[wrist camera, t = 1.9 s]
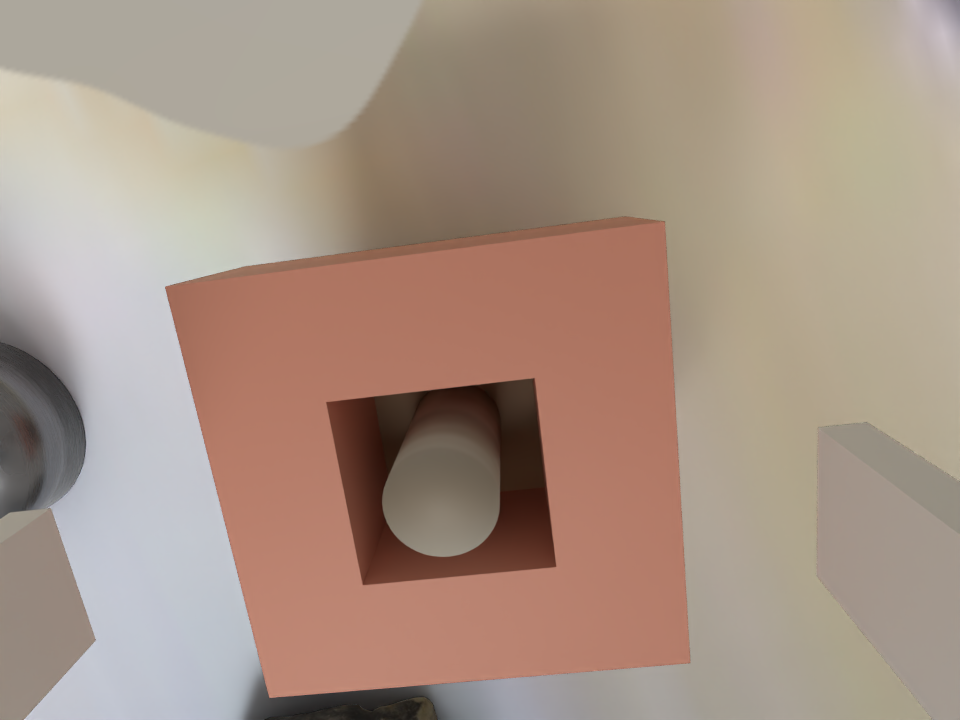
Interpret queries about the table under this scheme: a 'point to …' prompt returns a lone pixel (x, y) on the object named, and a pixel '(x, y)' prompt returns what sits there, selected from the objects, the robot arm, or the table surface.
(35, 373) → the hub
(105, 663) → the table surface
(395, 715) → the fossil
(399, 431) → the stand
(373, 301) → the salmon square frame
